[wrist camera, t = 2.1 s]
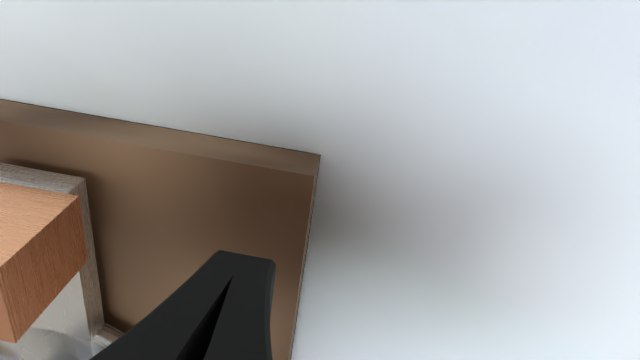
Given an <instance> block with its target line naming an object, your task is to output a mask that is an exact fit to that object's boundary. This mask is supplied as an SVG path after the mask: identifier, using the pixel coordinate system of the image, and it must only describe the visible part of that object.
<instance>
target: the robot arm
mask: <svg viewBox="0 0 640 360" xmlns="http://www.w3.org/2000/svg"><path fill="white" fill-rule="evenodd" d="M275 272H276V264H275V263H274V261H273V260H271V259H266V258H260V257H255V256H250V255H244V254H239V253H233V252H228V251H222V250H218V251H217V252H215V253H214V254H213V255H212V256H211V257H210V258H209V259H208V260H207V261H206V262H205V263H204V264H203V265H202V266H201V267H200V268H199V269H198V270H197V271H196V272H195V273H194V274H193V275H192V276H191V277H190V278H189V279H187V280H186V281H185V282H184V283H183V284H182V285H181V286H180V287H179V288H178V289H177V290H176V291H174V292H173V293H172V294H171V295H170V296H169V297H168V298H167V299H165V300H164V301H163V302H162V303H161V304H160V305H159V306H157V307H156V308H155V309H154V310H153V311H152V312H150V313H149V314H148V315H147V316H146V317H144V318H143V319H142V320H141V321H139V322H138V323H137V324H136V325H134V326H133V327H132V328H130V329H129V330H128V331H127V332H125V333H124V334H123V335H122V336H120V337H119V338H118V339H117V340H115V341H114V342H113V343H111V344H110V345H108V346H107V347H106V348H104V349H103V350H102V351H100V352H99V353H97V354H96V355H95V356H93V357H92V358H90V359H89V360H273V359H272V349H271V335H270V318H271V309H272V300H273V291H274V282H275Z"/></svg>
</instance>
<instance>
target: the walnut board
mask: <svg viewBox="0 0 640 360" xmlns="http://www.w3.org/2000/svg"><path fill="white" fill-rule="evenodd" d="M319 162H320V155H317V154H311V153H306V152H300V151H294V150H288V149H283V148H277V147H271V146H265V145H260V144H254V143H248V142H242V141H237V140H231V139H225V138H219V137H214V136H208V135H202V134H196V133H191V132H185V131H179V130H173V129H168V128H162V127H156V126H150V125H145V124H139V123H133V122H127V121H122V120H116V119H110V118H104V117H99V116H93V115H87V114H81V113H76V112H70V111H64V110H58V109H53V108H47V107H41V106H35V105H30V104H24V103H18V102H12V101H7V100H1V99H0V163H4V164H10V165H15V166H21V167H26V168H32V169H37V170H43V171H49V172H54V173H60V174H65V175H71V176H76V177H82V178H85V181H86V188H87V195H88V203H89V210H90V218H91V225H92V233H93V240H94V248H95V255H96V262H97V270H98V277H99V285H100V292H101V300H102V307H103V314H104V322H105V323H106V324H109V325H111V326H112V327H114V328H116V329H118V330H120V331H122V332H124V333H125V332H127V331H128V330H129V329H130V328H132V327H133V326H134V325H136V324H137V323H138V322H139V321H141V320H142V319H143V318H144V317H146V316H147V315H148V314H149V313H150V312H152V311H153V310H154V309H155V308H156V307H157V306H159V305H160V304H161V303H162V302H163V301H164V300H165V299H167V298H168V297H169V296H170V295H171V294H172V293H173V292H174V291H176V290H177V289H178V288H179V287H180V286H181V285H182V284H183V283H184V282H185V281H186V280H187V279H189V278H190V277H191V276H192V275H193V274H194V273H195V272H196V271H197V270H198V269H199V268H200V267H201V266H202V265H203V264H204V263H205V262H206V261H207V260H208V259H209V258H210V257H211V256H212V255H213V254H214V253H215V252H217V251H218V250H222V251H228V252H233V253H239V254H244V255H250V256H255V257H260V258H266V259H271V260H273V261H274V263H275V264H276V272H275V282H274V291H273V300H272V309H271V318H270V335H271V349H272V359H273V360H291V354H292V347H293V340H294V333H295V326H296V320H297V313H298V306H299V299H300V292H301V285H302V279H303V272H304V265H305V258H306V251H307V244H308V238H309V231H310V224H311V217H312V210H313V203H314V196H315V190H316V183H317V176H318V169H319Z"/></svg>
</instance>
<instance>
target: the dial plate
mask: <svg viewBox="0 0 640 360" xmlns="http://www.w3.org/2000/svg"><path fill="white" fill-rule="evenodd" d="M123 334H124V332H122V331H120V330H118V329H116V328H114V327H112V326H111V325H109V324H106V323H105V322H104V314H103V307H102V300H101V292H100V285H99V277H98V270H97V262H96V255H95V248H94V240H93V233H92V225H91V218H90V210H89V203H88V195H87V188H86V181H85V178H82V177H76V176H71V175H65V174H60V173H54V172H49V171H43V170H37V169H32V168H26V167H21V166H15V165H10V164H4V163H0V360H89V359H90V358H92V357H93V356H95V355H96V354H97V353H99V352H100V351H102V350H103V349H104V348H106V347H107V346H108V345H110V344H111V343H113V342H114V341H115V340H117V339H118V338H119V337H120V336H122V335H123Z"/></svg>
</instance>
